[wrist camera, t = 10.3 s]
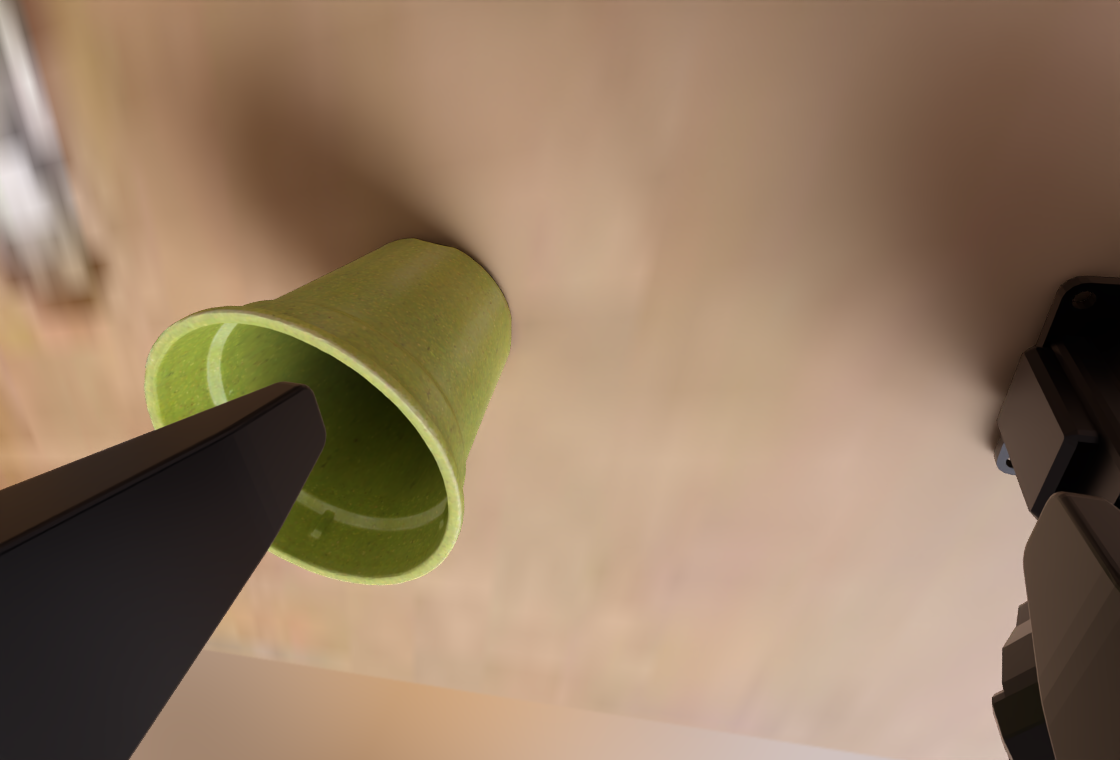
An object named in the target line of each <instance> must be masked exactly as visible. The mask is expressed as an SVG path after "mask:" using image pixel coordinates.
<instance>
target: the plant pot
mask: <svg viewBox="0 0 1120 760" xmlns="http://www.w3.org/2000/svg"><path fill="white" fill-rule="evenodd" d="M510 346H511V315H510V311H509V308H508V305H507V302H506V300H505V298H504V296H503V294H502V292H501V290H500V289H499V287H498V286H497V284H496V283H495V281H494V280H493V279H492V278H491V276H490V275H489V274H488V273H487V272H486V271H485V270H484V269H483V268H482V267H481V266H480V265H479V264H478V263H477V262H475V261H474V260H473V259H472V258H471V257H469V256H468V255H466V254H465V253H463V252H461V251H460V250H458V249H456V248H453V247H448V246H442V245H438V244H434V243H430V242H426V241H422V240H419V239H416V238H408V239H401V240H397V241H393V242H391V243H388V244H386V245H384V246H383V247H381V248H379V249H377V250H375V251H373V252H371V253H369V254H367V255H365V256H363V257H361V258H359V259H357V260H355V261H353V262H351V263H349V264H347V265H345V266H343V267H341V268H339V269H337V270H335V271H332V272H330V273H328V274H326V275H324V276H322V277H320V278H318V279H316V280H314V281H312V282H310V283H308V284H306V285H304V286H302V287H300V288H298V289H296V290H294V291H292V292H289V293H287V294H285V295H283V296H281V297H279V298H277V299H275V300H265V301H258V302H253V303H249V304H246V305H244V306H224V307H215V308H209V309H205V310H201V311H198V312H196V313H193V314H191V315H189V316H187V317H185V318H183V319H181V320H179V321H177V322H176V323H174V324H172V325H171V326H170V327H168V328H167V329H166V330H165V331H164V332H163V333H162V334H161V335H160V336H159V338H158V339H157V341H156V342H155V343H154V345H153V346H152V348H151V351H150V352H149V355H148V358H147V363H146V366H145V368H146V371H145V383H144V391H145V399H146V403H147V409H148V412H149V415H150V418H151V421H152V424H153V427H154V430H156V429H159V428H161V427H164V426H167V425H169V424H172V423H174V422H177V421H179V420H182V419H185V418H187V417H190V416H192V415H195V414H197V413H200V412H203V411H205V410H208V409H210V408H213V407H215V406H218V405H220V404H223V403H226V402H228V401H231V400H233V399H236V398H238V397H241V396H244V395H246V394H249V393H251V392H254V391H256V390H259V389H262V388H264V387H267V386H269V385H272V384H274V383H277V382H283V381H285V382H293V383H300V384H305V385H307V386H309V387H310V388H311V389H312V390H313V392H314V394H315V397H316V400H317V404H318V407H319V410H320V413H321V416H322V419H323V422H324V425H325V428H326V442H325V446H324V448H323V450H322V452H321V454H320V456H319V458H318V460H317V462H316V464H315V465H314V467H313V469H312V471H311V473H310V475H309V477H308V479H307V481H306V482H305V484H304V486H303V488H302V490H301V492H300V494H299V496H298V498H297V499H296V501H295V503H294V505H293V507H292V509H291V511H290V513H289V515H288V516H287V518H286V520H285V522H284V524H283V526H282V527H281V529H280V531H279V533H278V535H277V536H276V538H275V540H274V541H273V543H272V544H271V546H270V548H269V549H268V551H269V552H270V553H272V554H274V555H276V556H278V557H280V558H282V559H284V560H286V561H288V562H290V563H292V564H295V565H297V566H299V567H301V568H304V569H306V570H308V571H310V572H313V573H316V574H319V575H322V576H325V577H329V578H332V579H337V580H339V581H344V582H350V583H356V584H365V585H391V584H399V583H403V582H406V581H410V580H414V579H417V578H419V577H421V576H424V575H426V574H428V573H429V572H431V571H432V570H433V569H435V568H436V567H438V566H439V565H440V564H441V563H442V562H443V561H444V559H445V558H446V557H447V556H448V554H449V553H450V551H451V550H452V548H453V546H454V544H455V542H456V541H457V538H458V536H459V533H460V530H461V526H462V523H463V515H464V494H463V485H464V480H465V473H466V460H467V457H468V454H469V451H470V449H471V446H472V444H473V441H474V439H475V436H476V434H477V431H478V429H479V426H480V424H481V421H482V419H483V416H484V414H485V411H486V409H487V406H488V404H489V401H490V399H491V396H492V394H493V392H494V389H495V387H496V384H497V382H498V380H499V377H500V375H501V373H502V370H503V368H504V365H505V363H506V360H507V357H508V355H509V352H510Z"/></svg>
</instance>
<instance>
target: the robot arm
mask: <svg viewBox="0 0 1120 760" xmlns="http://www.w3.org/2000/svg"><path fill="white" fill-rule="evenodd" d="M1085 291H1089V292H1091V295H1090V296H1089V297H1088V298H1087V299H1086V300H1084V301H1081V302H1073V301H1072V299H1073V298H1074V297H1075V295H1077V294H1079V293H1081V292H1085ZM997 424H998V427H999V430H1000V433H1001V436H1000V438H999V441H998V443H997V446H996V448H995V451H994V458H995V461H996V464H997V466H998V468H999V469H1000V470H1001V471H1002V472H1004V473H1007V474H1011V475H1016V477H1017V479H1018V482H1019V485H1020V488H1021V490H1022V493H1023V496H1024V498H1025V501H1026V504H1027V507H1028V509H1029V511H1030V512H1031V514H1032V515H1033V516H1034V517H1035V518H1036V519H1037V520H1038V521H1037V523H1036V525H1035V527H1034V529H1033V531H1032V533H1031V535H1030V537H1029V539H1028V542H1027V544H1026V546H1025V550H1024V557H1023V568H1024V576H1025V584H1026V592H1027V599H1028V601H1026V602H1025V603H1023V604H1021V605H1020V606H1019V608H1018V616H1017V624H1016V627H1015V629H1014V630H1013V632H1012V634H1011V635H1010V637H1009V638H1008V640H1007V642H1006V643H1005V645H1004V647H1003V648H1002V685H1003V690H1002V691H1000V692H998V693H996V694H994V696H993V697H992V707H993V714H994V717H995V720H996V723H997V727H998V730H999V733H1000V736H1001V739H1002V742H1003V745H1004V748H1005V750H1006V752H1007V754H1008V757H1009V760H1120V278H1111V277H1095V276H1080V277H1075V278H1073V279H1070V280H1068V281H1067V282H1065V283H1064V284H1063V285H1061V287H1060V288H1059V290H1058V291H1057V294H1056V296H1055V299H1054V301H1053V304H1052V306H1051V309H1050V311H1049V314H1048V316H1047V319H1046V321H1045V324H1044V327H1043V329H1042V332H1041V334H1040V337H1039V339H1038V342H1037V344H1036V346H1033V347H1031V348H1030V349H1028V350H1027V351H1025V352H1024V353H1023V354H1022V356H1021V359H1020V361H1019V364H1018V366H1017V369H1016V372H1015V374H1014V377H1013V379H1012V382H1011V385H1010V387H1009V390H1008V392H1007V395H1006V398H1005V400H1004V403H1003V405H1002V408H1001V411H1000V413H999V416H998V418H997ZM325 442H326V428H325V425H324V422H323V419H322V416H321V413H320V410H319V407H318V404H317V400H316V397H315V394H314V392H313V390H312V389H311V388H310V387H309V386H307V385H305V384H300V383H293V382H285V381H283V382H277V383H274V384H272V385H269V386H267V387H264V388H262V389H259V390H256V391H254V392H251V393H249V394H246V395H244V396H241V397H238V398H236V399H233V400H231V401H228V402H226V403H223V404H220V405H218V406H215V407H213V408H210V409H208V410H205V411H203V412H200V413H197V414H195V415H192V416H190V417H187V418H185V419H182V420H179V421H177V422H174V423H172V424H169V425H167V426H164V427H161V428H159V429H156V430H154V431H151V432H149V433H146V434H143V435H141V436H138V437H136V438H133V439H131V440H128V441H125V442H123V443H120V444H118V445H115V446H113V447H110V448H107V449H105V450H102V451H100V452H97V453H95V454H92V455H89V456H87V457H84V458H82V459H79V460H77V461H74V462H72V463H69V464H66V465H64V466H61V467H59V468H56V469H54V470H51V471H48V472H46V473H43V474H41V475H38V476H36V477H33V478H30V479H28V480H25V481H23V482H20V483H18V484H15V485H12V486H10V487H7V488H5V489H2V490H0V760H129V759H130V758H131V756H132V755H133V753H134V752H135V750H136V749H137V747H138V746H139V744H140V743H141V741H142V739H143V738H144V737H145V735H146V733H147V732H148V730H149V729H150V727H151V726H152V724H153V723H154V721H155V720H156V718H157V717H158V715H159V714H160V712H161V711H162V709H163V708H164V706H165V705H166V703H167V702H168V700H169V699H170V697H171V695H172V694H173V693H174V691H175V690H176V688H177V687H178V685H179V684H180V682H181V681H182V679H183V678H184V676H185V674H186V673H187V672H188V670H189V668H190V667H191V666H192V664H193V662H194V661H195V659H196V658H197V656H198V655H199V653H200V652H201V650H202V649H203V647H204V646H205V644H206V643H207V641H208V640H209V638H210V637H211V635H212V634H213V632H214V631H215V629H216V628H217V626H218V625H219V623H220V622H221V620H222V619H223V617H224V616H225V614H226V613H227V611H228V610H229V608H230V607H231V605H232V604H233V602H234V601H235V599H236V598H237V596H238V595H239V593H240V592H241V590H242V588H243V587H244V585H245V584H246V582H247V581H248V579H249V578H250V576H251V575H252V573H253V572H254V570H255V569H256V567H257V566H258V564H259V563H260V561H261V560H262V558H263V557H264V555H265V554H266V552H267V551H268V549H269V548H270V546H271V544H272V543H273V541H274V540H275V538H276V536H277V535H278V533H279V531H280V529H281V527H282V526H283V524H284V522H285V520H286V518H287V516H288V515H289V513H290V511H291V509H292V507H293V505H294V503H295V501H296V499H297V498H298V496H299V494H300V492H301V490H302V488H303V486H304V484H305V482H306V481H307V479H308V477H309V475H310V473H311V471H312V469H313V467H314V465H315V464H316V462H317V460H318V458H319V456H320V454H321V452H322V450H323V448H324V446H325ZM1009 457H1010V460H1008V458H1009Z"/></svg>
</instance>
